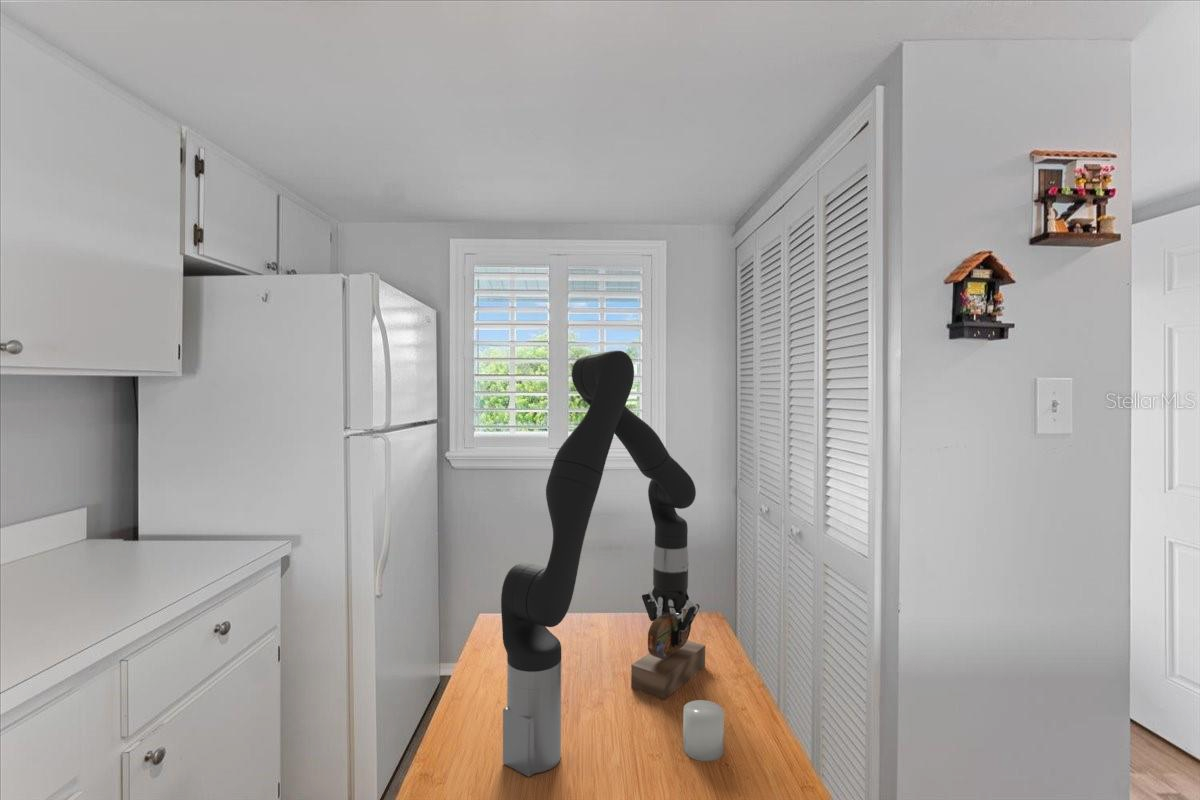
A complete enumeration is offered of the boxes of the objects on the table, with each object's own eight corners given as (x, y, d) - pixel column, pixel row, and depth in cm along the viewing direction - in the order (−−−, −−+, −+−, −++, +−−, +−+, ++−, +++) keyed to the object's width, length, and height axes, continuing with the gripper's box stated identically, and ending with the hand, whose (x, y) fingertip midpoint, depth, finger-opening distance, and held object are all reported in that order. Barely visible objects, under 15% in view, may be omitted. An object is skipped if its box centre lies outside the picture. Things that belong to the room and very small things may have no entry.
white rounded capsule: (712, 766, 106) (713, 726, 106) (676, 751, 110) (676, 712, 110) (729, 746, 112) (730, 708, 111) (694, 733, 116) (694, 696, 115)
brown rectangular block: (663, 700, 127) (664, 676, 127) (631, 688, 132) (631, 664, 132) (704, 667, 142) (705, 645, 141) (674, 657, 146) (674, 636, 146)
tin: (656, 665, 130) (658, 626, 129) (643, 660, 132) (645, 621, 131) (691, 641, 142) (693, 605, 141) (679, 636, 144) (681, 601, 143)
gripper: (634, 563, 137) (633, 641, 138) (690, 576, 128) (689, 659, 129) (652, 555, 143) (651, 630, 144) (707, 567, 135) (706, 646, 135)
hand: (669, 643), depth 136 cm, fingers closed on tin, 2 cm apart
